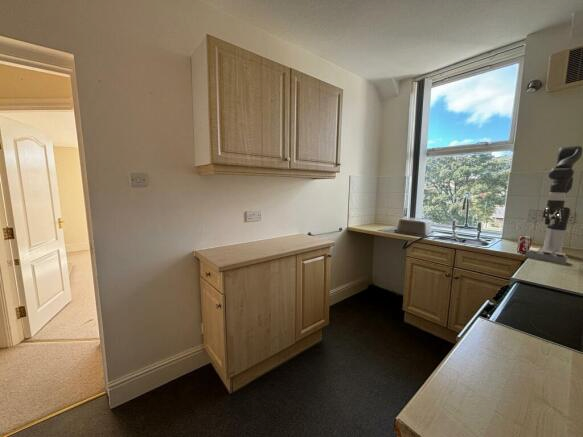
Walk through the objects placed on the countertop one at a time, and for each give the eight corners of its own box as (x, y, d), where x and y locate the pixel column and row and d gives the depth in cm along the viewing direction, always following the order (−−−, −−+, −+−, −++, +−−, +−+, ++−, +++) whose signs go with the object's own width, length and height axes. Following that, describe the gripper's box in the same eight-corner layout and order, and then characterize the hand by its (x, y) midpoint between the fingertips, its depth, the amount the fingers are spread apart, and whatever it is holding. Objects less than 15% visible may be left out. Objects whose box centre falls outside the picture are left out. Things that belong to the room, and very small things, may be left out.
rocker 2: (556, 253, 156) (556, 252, 156) (565, 255, 153) (565, 253, 153) (555, 253, 153) (555, 251, 153) (564, 255, 149) (565, 253, 149)
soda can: (523, 251, 177) (526, 235, 175) (532, 254, 170) (535, 237, 168) (513, 251, 177) (516, 235, 175) (521, 253, 171) (524, 237, 169)
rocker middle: (543, 251, 161) (543, 249, 161) (551, 253, 158) (552, 251, 158) (541, 251, 157) (542, 249, 157) (550, 252, 154) (551, 250, 154)
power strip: (527, 255, 168) (529, 248, 167) (566, 262, 154) (568, 255, 153) (525, 257, 163) (526, 250, 162) (565, 264, 149) (566, 257, 148)
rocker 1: (531, 247, 166) (531, 246, 165) (539, 248, 163) (539, 247, 162) (528, 250, 162) (529, 249, 162) (537, 252, 159) (537, 250, 159)
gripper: (556, 199, 161) (552, 223, 163) (541, 199, 158) (536, 223, 160) (571, 200, 154) (567, 225, 156) (555, 199, 151) (551, 225, 153)
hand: (551, 224), depth 158 cm, fingers open, 8 cm apart
